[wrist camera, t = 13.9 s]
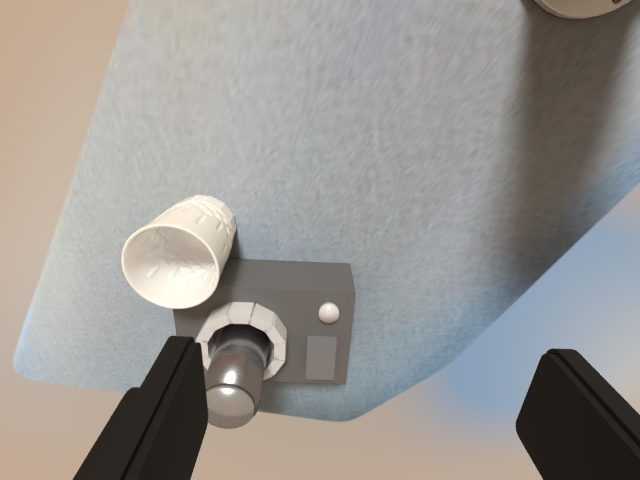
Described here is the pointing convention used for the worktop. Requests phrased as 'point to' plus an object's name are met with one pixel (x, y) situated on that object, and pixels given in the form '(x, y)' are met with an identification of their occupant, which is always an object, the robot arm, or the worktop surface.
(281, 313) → the camera body
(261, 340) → the shiny metal cylinder
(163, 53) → the worktop surface
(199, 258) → the white cup
